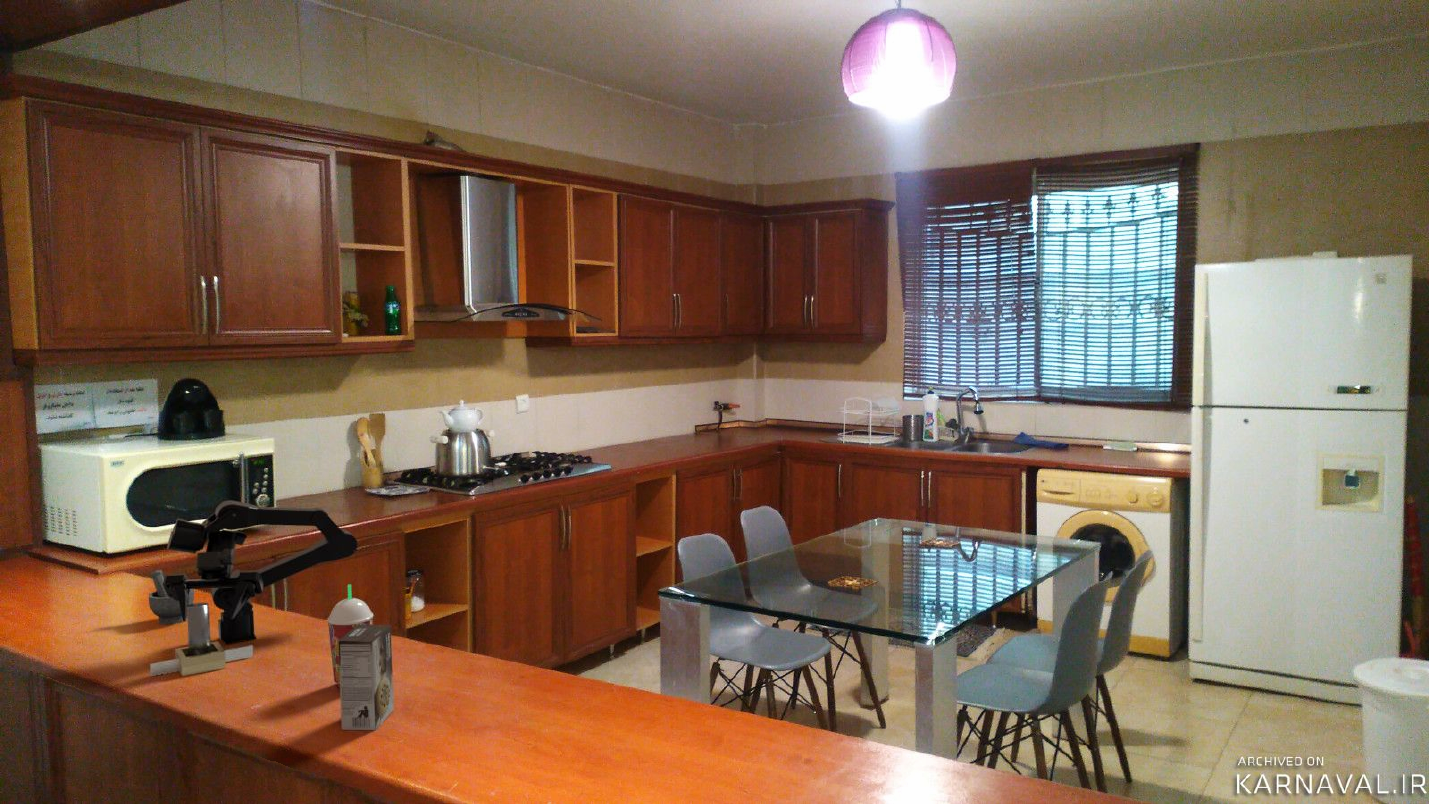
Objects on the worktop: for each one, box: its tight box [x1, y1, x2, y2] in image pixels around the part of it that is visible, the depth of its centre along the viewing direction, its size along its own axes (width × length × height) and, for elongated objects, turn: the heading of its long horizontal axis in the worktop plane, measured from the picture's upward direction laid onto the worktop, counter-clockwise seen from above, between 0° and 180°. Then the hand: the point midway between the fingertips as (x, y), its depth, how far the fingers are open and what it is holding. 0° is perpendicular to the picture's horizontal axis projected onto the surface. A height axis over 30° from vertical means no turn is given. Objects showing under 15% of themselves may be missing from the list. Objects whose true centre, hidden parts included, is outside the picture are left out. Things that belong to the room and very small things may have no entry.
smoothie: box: [327, 584, 374, 689], centre depth 190 cm, size 8×8×20 cm
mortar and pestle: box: [148, 569, 195, 626], centre depth 233 cm, size 11×9×12 cm
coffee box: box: [338, 624, 395, 731], centre depth 173 cm, size 9×6×16 cm
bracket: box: [149, 641, 254, 677], centre depth 202 cm, size 19×8×4 cm, turn 127°
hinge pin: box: [186, 602, 211, 657], centre depth 201 cm, size 4×4×13 cm
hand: (208, 619), depth 205 cm, fingers open, 9 cm apart
